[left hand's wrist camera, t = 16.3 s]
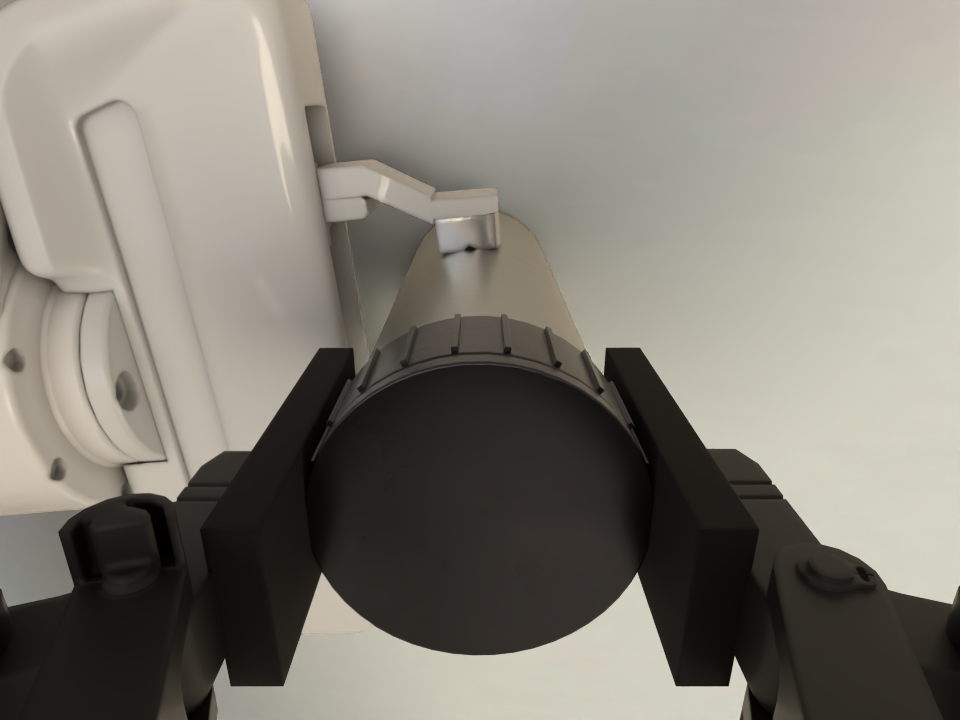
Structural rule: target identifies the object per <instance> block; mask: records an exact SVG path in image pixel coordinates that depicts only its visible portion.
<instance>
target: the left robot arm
mask: <svg viewBox="0 0 960 720" xmlns="http://www.w3.org/2000/svg"><path fill="white" fill-rule="evenodd" d="M355 376H356V375H355V362H354V350H353V348H319V349H318V351H317V352H316V354H315V355H314V357H313V358H312V360H311V362H310V363H309V365H308V366H307V368H306V369H305V371H304V372H303V374H302V375H301V377H300V378H299V380H298V381H297V383H296V384H295V386H294V387H293V389H292V390H291V392H290V393H289V395H288V396H287V398H286V399H285V401H284V402H283V404H282V405H281V407H280V408H279V410H278V411H277V413H276V414H275V416H274V418H273V419H272V421H271V422H270V424H269V425H268V427H267V428H266V430H265V431H264V433H263V434H262V436H261V437H260V439H259V440H258V442H257V443H256V445H255V446H254V448H253V449H252V451H223V452H222V453H220V454H219V455H217V456H216V457H214V458H213V459H211V460H210V461H208V462H207V463H205V464H204V465H202V466H201V467H200V468H199V470H198V471H197V472H196V473H195V475H194V476H193V477H192V479H191V480H190V481H189V483H188V487H185V488H184V489H183V490H182V492H181V493H180V494H179V496H178V497H177V501H176V502H172V501H171V500H169V499H168V498H167V497H165V496H162V495H157V494H152V493H138V494H127V495H123V496H118V497H114V498H110V499H106V500H104V501H102V502H99V503H97V504H94V505H92V506H90V507H87V508H85V509H84V510H82V511H81V512H79V513H78V514H76V515H75V516H73V517H72V518H70V519H69V520H68V521H67V522H66V524H65V525H64V526H63V527H62V528H61V529H60V531H59V532H58V533H59V536H60V540H61V543H62V546H63V550H64V553H65V556H66V560H67V563H68V566H69V570H70V573H71V576H72V580H73V583H74V588H73V590H72V593H69V594H65V595H61V596H58V597H53V598H48V599H44V600H39V601H34V602H30V603H25V604H20V605H16V606H11V607H7V604H6V601H5V598H4V596H3V593H2V590H1V589H0V720H217V711H218V710H217V703H216V697H215V692H214V688H213V683H214V681H215V678H216V676H217V674H218V672H219V670H220V667H221V665H222V663H223V661H224V659H225V660H226V665H227V670H228V675H229V680H230V685H231V686H284V683H285V680H286V677H287V674H288V671H289V668H290V665H291V662H292V659H293V656H294V653H295V650H296V647H297V644H298V641H299V638H300V635H301V633H302V630H303V627H304V624H305V621H306V618H307V615H308V612H309V609H310V606H311V603H312V600H313V597H314V594H315V591H316V588H317V585H318V582H319V579H320V576H321V573H322V572H321V569H320V567H319V565H318V563H317V561H316V559H315V557H314V555H313V552H312V548H311V544H310V537H309V528H308V520H307V512H306V502H305V493H306V487H307V481H308V476H309V473H310V470H311V467H312V466H311V464H310V461H311V458H312V456H313V454H314V452H315V450H316V448H317V446H318V444H319V442H320V440H321V438H322V436H323V433H324V431H325V429H326V427H327V425H326V423H327V421H328V419H329V417H330V415H331V413H332V410H333V408H334V406H335V404H336V402H337V400H338V398H339V396H340V394H341V392H342V390H343V388H344V386H345V384H346V382H347V380H348V379H350V380H351V381H353V379H354V378H355ZM604 377H605V378H606V380H607V382H608V383H609V382H611V381H613V383H614V385H615V387H616V389H617V391H618V393H619V395H620V397H621V399H622V401H623V403H624V405H625V407H626V409H627V411H628V413H629V415H630V418H631V420H632V422H633V424H634V426H635V427H634V428H633V430H634V432H635V435H636V437H637V439H638V441H639V443H640V445H641V447H642V449H643V451H644V454H645V456H646V458H647V460H648V462H649V467H648V469H649V471H650V476H651V480H652V485H653V489H654V505H653V515H652V523H651V531H650V539H649V546H648V550H647V552H646V555H645V557H644V560H643V562H642V564H641V567H640V568H639V570H638V575H639V578H640V581H641V584H642V587H643V590H644V593H645V596H646V599H647V602H648V605H649V608H650V611H651V614H652V617H653V620H654V623H655V626H656V628H657V631H658V634H659V637H660V640H661V643H662V646H663V649H664V652H665V655H666V658H667V661H668V664H669V667H670V670H671V673H672V676H673V679H674V682H675V685H676V686H729V682H730V676H731V671H732V666H733V661H734V656H735V657H736V659H737V661H738V664H739V666H740V668H741V670H742V672H743V674H744V677H745V679H746V681H747V688H746V692H745V697H744V702H743V706H742V711H741V716H740V720H960V586H959V587H958V590H957V593H956V596H955V599H954V602H953V604H948V603H943V602H938V601H933V600H929V599H924V598H919V597H915V596H910V595H905V594H901V593H897V592H894V591H890V590H888V589H887V587H886V585H885V583H884V582H883V581H882V579H881V578H880V576H879V575H878V574H877V572H876V571H875V570H873V569H872V568H871V567H869V566H868V565H867V564H866V563H864V562H863V561H862V560H860V559H859V558H857V557H855V556H852V555H850V554H848V553H846V552H844V551H842V550H840V549H836V548H833V547H829V546H825V545H821V544H820V542H819V541H818V540H817V539H816V537H815V536H814V535H813V533H812V532H811V531H810V530H809V528H808V527H807V526H806V524H805V523H804V522H803V521H802V519H801V518H800V517H799V515H798V514H797V513H796V512H795V510H794V509H793V508H792V506H791V505H790V504H789V503H788V501H787V500H786V499H783V495H782V494H781V492H780V491H779V490H778V488H777V487H776V486H775V485H772V481H771V479H770V478H769V477H768V476H767V474H766V473H765V472H764V470H763V469H762V468H761V467H760V465H759V464H758V463H756V462H755V461H753V460H752V459H750V458H749V457H747V456H745V455H744V454H742V453H741V452H739V451H738V450H736V449H706V447H705V446H704V444H703V443H702V441H701V440H700V438H699V437H698V435H697V434H696V432H695V431H694V429H693V428H692V426H691V425H690V423H689V422H688V420H687V419H686V417H685V416H684V414H683V412H682V411H681V409H680V408H679V406H678V405H677V403H676V402H675V400H674V399H673V397H672V396H671V394H670V393H669V391H668V390H667V388H666V387H665V385H664V384H663V382H662V381H661V379H660V378H659V376H658V375H657V373H656V372H655V370H654V369H653V367H652V366H651V364H650V363H649V361H648V359H647V358H646V356H645V355H644V353H643V352H642V350H641V349H640V348H606V354H605V367H604Z"/></svg>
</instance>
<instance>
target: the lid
mask: <svg viewBox="0 0 960 720" xmlns="http://www.w3.org/2000/svg"><path fill="white" fill-rule="evenodd" d="M326 425H327V427H326V429H325V431H324V433H323V436H322V438H321V440H320V442H319V444H318V446H317V448H316V450H315V452H314V454H313V456H312V458H311V461H310V464H311V466H312V467H311V470H310V473H309V476H308V481H307V487H306V493H305V502H306V512H307V520H308V528H309V537H310V544H311V548H312V552H313V555H314V557H315V559H316V561H317V563H318V565H319V567H320V569H321V572H322V573H323V575H324V576H325V578H326V579H327V581H328V582H329V584H330V585H331V587H332V588H333V589H334V590H335V592H336V593H337V594H338V595H339V596H340V597H341V598H342V600H343V601H344V602H345V603H346V604H347V605H348V606H350V607H351V608H352V609H353V610H354V611H355V612H356V613H357V614H359V615H360V616H361V617H363V618H364V619H365V620H367V621H368V622H370V623H371V624H373V625H374V626H375V627H377V628H379V629H381V630H383V631H385V632H386V633H388V634H390V635H392V636H394V637H396V638H399V639H401V640H404V641H406V642H409V643H411V644H414V645H417V646H421V647H424V648H428V649H431V650H436V651H441V652H447V653H452V654H464V655H497V654H505V653H514V652H519V651H523V650H528V649H532V648H536V647H539V646H542V645H545V644H548V643H551V642H554V641H556V640H558V639H561V638H563V637H565V636H567V635H569V634H572V633H573V632H575V631H577V630H578V629H580V628H582V627H583V626H585V625H587V624H589V623H590V622H591V621H593V620H594V619H595V618H597V617H598V616H599V615H601V614H602V613H603V612H604V611H606V610H607V609H608V608H609V607H610V606H611V605H612V604H613V603H614V602H615V601H616V600H617V599H618V598H619V597H620V596H621V594H622V593H623V592H624V591H625V589H626V588H627V587H628V586H629V584H630V583H631V582H632V580H633V578H634V577H635V575H636V573H637V572H638V570H639V568H640V567H641V564H642V562H643V560H644V557H645V555H646V552H647V550H648V546H649V539H650V531H651V523H652V515H653V505H654V489H653V485H652V480H651V476H650V471H649V469H648V467H649V462H648V460H647V458H646V456H645V454H644V451H643V449H642V447H641V445H640V443H639V441H638V439H637V437H636V435H635V432H634V430H633V428H634V427H635V426H634V424H633V422H632V420H631V418H630V415H629V413H628V411H627V409H626V407H625V405H624V403H623V401H622V399H621V397H620V395H619V393H618V391H617V389H616V387H615V385H614V383H613V381H611V382H609V383H608V382H607V380H606V378H605V377H604V376H603V374H602V373H601V372H600V371H599V369H598V368H597V367H596V366H595V364H594V363H593V362H592V360H591V358H590V356H589V353H588V352H587V351H586V350H585V349H584V350H583V351H582V352H581V351H580V350H579V349H577V348H576V347H575V346H573V345H572V344H570V343H569V342H568V341H566V340H565V339H563V338H561V337H559V336H557V335H555V334H554V333H553V332H552V329H551V328H550V327H548V326H546V327H545V329H543V328H540V327H538V326H535V325H532V324H530V323H527V322H523V321H518V320H514V319H510V318H508V316H507V315H506V314H501V317H494V316H464V317H461V314H455V315H454V318H450V319H444V320H441V321H437V322H433V323H430V324H426V325H424V326H421V327H419V328H417V327H416V325H414V326H412V327H410V330H409V332H407V333H405V334H404V335H402V336H400V337H399V338H397V339H395V340H393V341H392V342H390V343H389V344H387V345H386V346H385V347H384V348H382V349H381V350H379V349H378V348H376V349H375V350H373V352H372V354H371V357H370V359H369V361H368V362H367V363H366V364H365V365H364V366H363V367H362V368H361V369H360V371H359V372H358V374H357V375H356V376H355V378H354V379H353V381H351V380H350V379H348V380H347V382H346V384H345V386H344V388H343V390H342V392H341V394H340V396H339V398H338V400H337V402H336V404H335V406H334V408H333V410H332V413H331V415H330V417H329V419H328V421H327V423H326Z"/></svg>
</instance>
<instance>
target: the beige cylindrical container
mask: <svg viewBox="0 0 960 720" xmlns="http://www.w3.org/2000/svg"><path fill="white" fill-rule="evenodd" d="M499 218H500V233H501V246H499V247H497V248H493V249H475V248H474V247H472V246H470V245H469V246H468V247H467V248H466V249H465V250H464V251H459V252H454V253H442V254H439V252H438V245H437V238H436V231H435V226H434V227H433V228H432V229H431V230H430V231H429V232H428V233H427V234H426V236H425V237H424V239H423V240H422V242H421V243H420V245H419V247H418V249H417V252H416V254H415V256H414V258H413V261H412V263H411V265H410V268H409V270H408V272H407V274H406V277H405V279H404V281H403V284H402V286H401V288H400V291H399V293H398V295H397V297H396V300H395V302H394V304H393V307H392V309H391V311H390V314H389V316H388V318H387V320H386V323H385V325H384V327H383V330H382V332H381V334H380V336H379V339H378V341H377V343H376V346H375V348H374V350H375V349H376V348H378V349H379V350H381V349H382V348H384V347H385V346H386V345H387V344H389V343H390V342H392V341H393V340H395V339H397V338H399V337H400V336H402V335H404V334H405V333H407V332H409V330H410V327H412V326H414V325H416V327H417V328H419V327H421V326H424V325H426V324H430V323H433V322H437V321H441V320H444V319H450V318H454V315H455V314H461V317H464V316H494V317H501V314H506V315H507V316H508V318H510V319H514V320H518V321H523V322H527V323H530V324H532V325H535V326H538V327H540V328H543V329H545V327H546V326H548V327H550V328H551V329H552V332H553V333H554V334H555V335H557V336H559V337H561V338H563V339H565V340H566V341H568V342H569V343H570V344H572V345H573V346H575V347H576V348H577V349H579V350H580V351H581V352H582V351H583V350H584V349H585V347H584V345H583V342H582V340H581V338H580V335H579V333H578V331H577V329H576V326H575V324H574V322H573V319H572V317H571V315H570V313H569V310H568V308H567V306H566V303H565V301H564V299H563V296H562V294H561V292H560V290H559V287H558V285H557V283H556V280H555V278H554V276H553V273H552V271H551V269H550V267H549V264H548V262H547V260H546V257H545V255H544V253H543V250H542V248H541V246H540V244H539V243H538V241H537V239H536V238H535V237H534V235H533V234H532V233H531V232H530V231H529V229H528V228H527V227H526V226H524V225H523V224H522V223H521V222H519V221H518V220H516V219H514V218H513V217H511V216H509V215H506V214H504V213H501V212H499ZM585 350H586V349H585Z"/></svg>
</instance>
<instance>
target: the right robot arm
mask: <svg viewBox="0 0 960 720" xmlns="http://www.w3.org/2000/svg"><path fill="white" fill-rule="evenodd" d="M379 202H382V203H384V204H386V205H389V206H391V207H393V208H396V209H398V210H400V211H402V212H405V213H407V214H409V215H412V216H414V217H416V218H419V219H421V220H423V221H425V222H428V223H430V224H432V225H433V224H435V231H436V238H437V245H438V252H439V254H442V253H454V252H459V251H464V250H465V249H466V248H467V247H468V246H469V245H470V246H472V247H474V248H475V249H493V248H497V247H499V246H501V233H500V218H499V207H498V193H497V189H496V188H478V189H467V190H457V191H446V192H436V191H435V188H434V187H432V186H429V185H427V184H425V183H423V182H421V181H419V180H417V179H415V178H413V177H410V176H408V175H406V174H404V173H402V172H400V171H398V170H396V169H393V168H391V167H389V166H387V165H385V164H383V163H381V162H379V161H377V160H374V159H369V160H359V161H349V162H338V163H336V157H335V151H334V145H333V139H332V133H331V127H330V122H329V116H328V110H327V104H326V98H325V92H324V86H323V80H322V74H321V69H320V63H319V57H318V51H317V45H316V39H315V33H314V27H313V21H312V16H311V11H310V8H309V6H308V3H307V2H306V0H14V1H12V2H10V3H9V4H7V5H5V6H4V7H2V8H1V9H0V516H6V515H18V514H31V513H40V512H53V511H66V510H79V509H85V508H87V507H90V506H92V505H94V504H97V503H99V502H102V501H104V500H106V499H110V498H114V497H118V496H123V495H127V494H138V493H152V494H157V495H162V496H165V497H167V498H168V499H169V500H171V501H172V502H176V501H177V497H178V496H179V494H180V493H181V492H182V490H183V489H184V488H185V487H188V483H189V481H190V480H191V479H192V477H193V476H194V475H195V473H196V472H197V471H198V470H199V468H200V467H201V466H202V465H204V464H205V463H207V462H208V461H210V460H211V459H213V458H214V457H216V456H217V455H219V454H220V453H222V452H223V451H252V449H253V448H254V446H255V445H256V443H257V442H258V440H259V439H260V437H261V436H262V434H263V433H264V431H265V430H266V428H267V427H268V425H269V424H270V422H271V421H272V419H273V418H274V416H275V414H276V413H277V411H278V410H279V408H280V407H281V405H282V404H283V402H284V401H285V399H286V398H287V396H288V395H289V393H290V392H291V390H292V389H293V387H294V386H295V384H296V383H297V381H298V380H299V378H300V377H301V375H302V374H303V372H304V371H305V369H306V368H307V366H308V365H309V363H310V362H311V360H312V358H313V357H314V355H315V354H316V352H317V351H318V349H319V348H353V350H354V362H355V375H357V374H358V372H359V371H360V369H361V368H362V367H363V366H364V365H365V364H366V363H367V362H368V361H369V359H370V357H369V351H368V345H367V339H366V334H365V328H364V322H363V316H362V310H361V304H360V298H359V292H358V286H357V281H356V275H355V269H354V263H353V257H352V251H351V245H350V239H349V233H348V228H347V222H346V221H348V220H358V219H365V218H366V217H367V216H368V215H369V214H370V213H371V212H372V211H373V210H374V209H375V208H376V207H377V206H378V204H379ZM373 626H374V625H373V624H371V623H370V622H368V621H367V620H365V619H364V618H363V617H361V616H360V615H359V614H357V613H356V612H355V611H354V610H353V609H352V608H351V607H350V606H348V605H347V604H346V603H345V602H344V601H343V600H342V598H341V597H340V596H339V595H338V594H337V593H336V592H335V590H334V589H333V588H332V587H331V585H330V584H329V582H328V581H327V579H326V578H325V576H324V575H323V573H321V576H320V579H319V582H318V585H317V588H316V591H315V594H314V597H313V600H312V603H311V606H310V609H309V612H308V615H307V618H306V621H305V624H304V627H303V630H302V633H301V634H309V635H323V634H354V633H361V632H365V631H367V630H369V629H371V628H372V627H373Z"/></svg>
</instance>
